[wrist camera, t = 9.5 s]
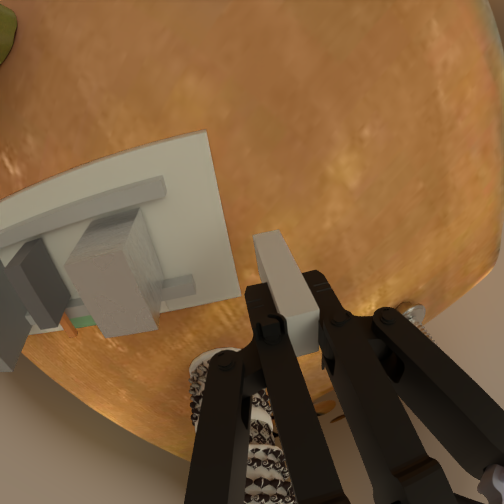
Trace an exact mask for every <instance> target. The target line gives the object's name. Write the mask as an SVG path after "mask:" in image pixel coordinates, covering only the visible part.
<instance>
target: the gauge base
mask: <svg viewBox="0 0 504 504" xmlns="http://www.w3.org/2000/svg"><path fill="white" fill-rule="evenodd" d="M139 207H140V209H141V212H142V215H143V218H144V221H145V224H146V227H147V230H148V233H149V235H150V238H151V241H152V244H153V247H154V250H155V252H156V255H157V258H158V260H159V263H160V266H161V269H162V271H163V274H164V281H163V290H162V299H161V309H160V313H163V312H169V311H174V310H179V309H184V308H188V307H193V306H198V305H203V304H208V303H212V302H217V301H222V300H226V299H231V298H235V297H240V296H241V291H240V287H239V282H238V278H237V274H236V269H235V265H234V260H233V256H232V251H231V247H230V242H229V238H228V233H227V228H226V224H225V219H224V214H223V210H222V205H221V200H220V196H219V191H218V186H217V181H216V177H215V172H214V167H213V162H212V157H211V152H210V147H209V142H208V137H207V132H206V129H204V130H200V131H195V132H191V133H187V134H182V135H178V136H174V137H170V138H166V139H163V140H159V141H155V142H152V143H148V144H144V145H141V146H138V147H134V148H131V149H128V150H124V151H121V152H118V153H115V154H112V155H109V156H106V157H103V158H100V159H97V160H94V161H91V162H88V163H86V164H83V165H80V166H77V167H75V168H72V169H70V170H67V171H64V172H62V173H59V174H57V175H54V176H52V177H50V178H47V179H45V180H43V181H40V182H38V183H36V184H33V185H31V186H29V187H27V188H24V189H22V190H20V191H18V192H16V193H14V194H12V195H10V196H8V197H6V198H4V199H2V200H0V372H13V371H14V368H15V365H16V362H17V360H18V357H19V355H20V353H21V351H22V348H23V346H24V344H25V341H26V339H27V337H28V335H33V334H40V333H47V332H53V331H60V330H64V329H63V328H62V326H61V325H60V323H59V325H58V327H56V328H49V329H43V330H40V328H39V327H38V325H37V324H36V323H35V321H34V320H33V318H32V317H31V315H30V314H29V312H28V311H27V309H26V308H25V306H24V304H23V303H22V301H21V300H20V298H19V296H18V295H17V293H16V292H15V290H14V288H13V286H12V285H11V283H10V281H9V280H8V278H7V276H6V274H5V272H4V271H3V270H4V268H5V267H6V266H7V264H8V263H9V262H10V261H11V259H12V258H13V257H14V256H15V254H16V253H17V252H18V251H19V249H20V248H21V247H22V246H23V244H24V243H26V242H29V241H32V240H35V239H38V238H42V240H43V243H44V245H45V247H46V249H47V251H48V253H49V255H50V257H51V259H52V261H53V263H54V265H55V267H56V269H57V271H58V273H59V275H60V277H61V278H62V280H63V282H64V284H65V286H66V288H67V289H68V291H69V293H70V295H71V297H70V299H69V302H68V304H67V306H66V309H65V311H64V312H65V313H66V315H67V317H68V318H69V320H70V321H71V323H72V324H73V326H74V327H75V328H81V327H87V326H93V325H97V324H96V323H95V321H94V319H93V318H92V316H91V315H90V313H89V311H88V310H87V308H86V306H85V304H84V303H83V301H82V299H81V298H80V296H79V294H78V292H77V290H76V289H75V287H74V285H73V283H72V281H71V279H70V278H69V276H68V274H67V272H66V270H65V268H64V264H65V263H66V261H67V259H68V258H69V256H70V254H71V253H72V251H73V249H74V248H75V246H76V244H77V243H78V241H79V240H80V238H81V237H82V235H83V233H84V232H85V230H86V229H87V227H88V226H89V224H90V223H91V221H93V220H97V219H100V218H104V217H107V216H110V215H114V214H117V213H121V212H125V211H128V210H132V209H135V208H139Z"/></svg>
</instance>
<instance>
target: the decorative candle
mask: <svg viewBox="0 0 504 504" xmlns="http://www.w3.org/2000/svg"><path fill="white" fill-rule="evenodd" d="M222 350H234V351H236V352H237V351H239V350H241V349H239V348H234V347H227V348H216V349H213V350H210V351H207V352H204V353H202V354H201V355H199V356H198V357H196V358H195V359H194V360H193V361H192V363H191V365H190V367H189V372H190V378H189V382H190V383H192V385H191V386H190V390H189V393H190V394H192V396H191V397H190V399H191V400H192V401H193V402H191V403H190V407H191V408H192V413H193V414H192V415H191V420H192V424H193V425H194V426H195V431H197V425H198V420H199V414H200V409H201V403H202V398H203V392H204V387H205V382H206V377H207V371H208V366H209V362H210V360H211V358H212V357H213V356H214V355H215V354H216V353H218V352H220V351H222ZM265 389H266V388H264V389H262V390H260V391H258V392H257V393H255V394H253V398H252V411H251V424H250V436H249V449H248V461H247V473H246V484H245V496H244V504H297V501H296V498H295V497H294V496H293V495H294V490H293V487H292V483H291V482H288V481H285V480H286V479H288V477H289V472H288V468H287V467H285V463H284V461H285V457H284V455H283V452H282V450H281V449H280V448H278V447H276V446H275V440H274V436H273V434H272V429H273V425H272V421H271V413H272V408H271V407H269V403H268V400H269V396H267V395H266V392H265Z"/></svg>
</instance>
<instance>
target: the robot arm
mask: <svg viewBox="0 0 504 504" xmlns="http://www.w3.org/2000/svg"><path fill="white" fill-rule="evenodd" d="M253 241H254V247H255V253H256V259H257V264H258V270H259V275H260V278H261V281H262V283H260V284H256V285H252V286H247V288H246V291H245V294H244V295H245V300H246V304H247V309H248V313H249V318H250V322H251V326H252V330H253V339H252V341H251V342H250V343H249V345H248V346H246V347H245V348H243V349H241V350H239V351H237V352H236V351H234V350H222V351H220V352H218V353H216V354H215V355H214V356H213V357H212V358H211V360H210V362H209V366H208V371H207V377H206V382H205V387H204V392H203V398H202V403H201V409H200V414H199V420H198V425H197V431H196V436H195V442H194V448H193V453H192V459H191V465H190V471H189V477H188V483H187V489H186V495H185V501H184V504H244V496H245V484H246V473H247V461H248V449H249V436H250V424H251V411H252V398H253V394H255V393H257V392H258V391H260V390H262V389H264V388H267V392H268V396H269V400H270V403H271V407H272V411H273V415H274V419H275V423H276V427H277V430H278V434H279V438H280V442H281V445H282V450H283V453H284V457H285V461H286V465H287V468H288V472H289V476H290V479H291V483H292V487H293V490H294V494H295V498H296V501H297V504H351V503H350V501H349V499H348V498H347V497H346V495H345V494H344V492H343V489H342V486H341V483H340V480H339V477H338V475H337V472H336V469H335V466H334V463H333V460H332V457H331V454H330V452H329V449H328V446H327V443H326V440H325V437H324V434H323V432H322V429H321V426H320V423H319V420H318V417H317V414H316V411H315V409H314V406H313V403H312V400H311V397H310V394H309V391H308V389H307V386H306V383H305V380H304V377H303V375H302V372H301V369H300V366H299V363H298V360H297V358H296V357H299V356H302V355H306V354H310V353H313V352H317V351H319V346H320V348H321V350H322V365H321V366H322V370H323V369H324V368H326V370H327V372H328V375H329V377H330V380H331V382H332V385H333V387H334V390H335V392H336V394H337V397H338V399H339V402H340V404H341V407H342V409H343V412H344V414H345V417H346V419H347V422H348V424H349V427H350V429H351V432H352V434H353V437H354V440H355V442H356V445H357V447H358V450H359V452H360V455H361V457H362V460H363V463H364V465H365V468H366V471H367V473H368V476H369V479H370V481H371V484H372V487H373V498H374V502H375V504H483V503H480V502H478V501H474V500H472V499H469V498H466V497H464V496H460V495H458V494H456V493H453V491H452V489H451V487H450V484H449V482H448V480H447V478H446V476H445V473H444V471H443V469H442V467H441V465H440V464H439V462H438V461H437V460H435V459H433V458H431V457H429V456H428V455H427V453H426V451H425V449H424V447H423V445H422V443H421V441H420V439H419V437H418V435H417V433H416V430H415V428H414V426H413V425H412V423H411V420H410V418H409V416H408V414H407V412H406V411H405V409H404V407H403V405H402V403H401V401H400V399H399V397H400V398H401V399H402V400H403V401H404V402H405V404H406V405H407V406H408V407H409V408H410V409H411V410H412V411H413V413H414V414H415V415H416V416H417V417H418V418H419V419H420V420H421V421H422V423H423V424H424V425H425V426H426V427H427V428H428V429H429V430H430V432H431V433H432V434H433V435H434V436H435V437H436V438H437V439H438V441H440V443H441V444H442V445H443V446H444V447H445V449H446V450H447V451H448V452H449V453H450V454H451V455H452V457H453V458H454V459H455V460H456V461H457V462H458V463H459V465H460V466H461V467H462V468H463V469H465V471H466V472H468V473H469V474H470V475H472V476H473V477H475V478H477V479H478V480H480V483H479V484H478V487H477V491H478V492H479V493H480V494H483V495H484V496H485V497H486V498H487V500H488V502H489V504H504V410H503V409H502V408H501V407H500V406H499V405H498V404H497V403H496V402H495V401H494V400H493V399H492V398H491V397H490V396H489V395H488V394H487V393H486V392H485V391H484V390H483V389H482V388H481V387H480V386H479V385H478V384H477V383H476V382H475V381H474V380H472V378H471V377H469V375H468V374H466V373H465V372H464V371H463V370H462V369H461V368H460V367H459V366H458V365H457V364H456V363H455V362H454V361H453V360H452V359H451V358H450V357H449V356H447V355H446V354H445V353H444V352H443V351H442V350H441V349H440V348H439V347H438V346H437V345H436V344H435V343H433V342H432V341H431V340H430V339H429V338H428V337H427V336H426V335H425V334H424V333H422V332H421V331H420V330H419V329H418V328H417V327H416V326H415V325H414V324H412V323H411V322H410V321H409V320H408V319H407V318H406V317H405V316H403V315H402V314H401V313H400V312H399V311H397V310H396V309H394V308H390V307H382V308H380V309H378V310H376V311H375V312H374V315H373V316H354V315H352V313H351V312H349V311H347V310H345V309H344V308H343V307H342V305H341V303H340V302H339V300H338V298H337V296H336V295H335V293H334V291H333V290H332V289H331V286H330V284H329V283H328V281H327V279H326V278H325V276H324V275H323V274H322V273H320V272H319V271H317V270H313V271H309V272H305V273H301V271H300V269H299V267H298V266H297V264H296V262H295V260H294V258H293V256H292V254H291V252H290V250H289V248H288V246H287V244H286V242H285V240H284V239H283V237H282V235H281V233H280V231H279V230H274V231H269V232H264V233H260V234H255V235H253ZM398 396H399V397H398Z"/></svg>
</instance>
